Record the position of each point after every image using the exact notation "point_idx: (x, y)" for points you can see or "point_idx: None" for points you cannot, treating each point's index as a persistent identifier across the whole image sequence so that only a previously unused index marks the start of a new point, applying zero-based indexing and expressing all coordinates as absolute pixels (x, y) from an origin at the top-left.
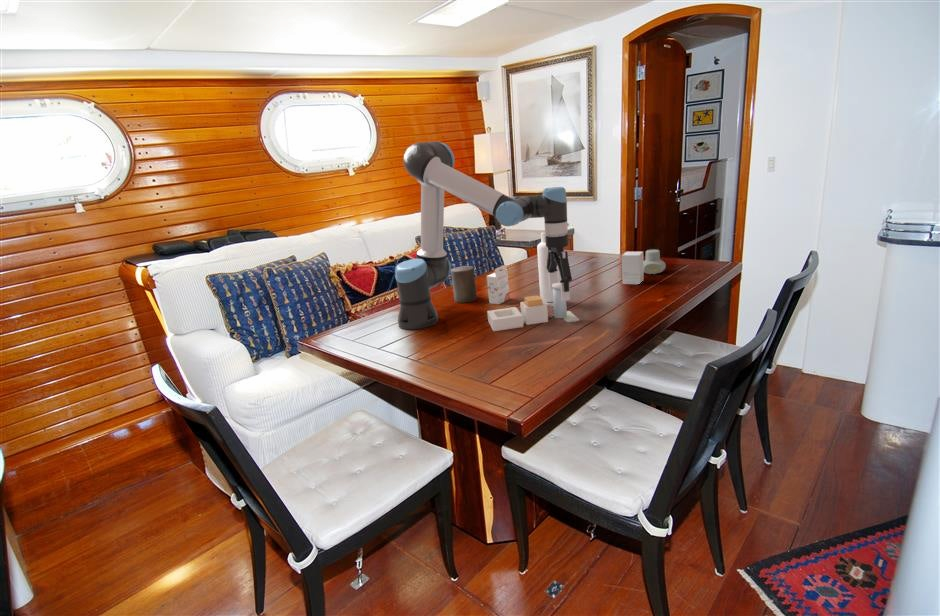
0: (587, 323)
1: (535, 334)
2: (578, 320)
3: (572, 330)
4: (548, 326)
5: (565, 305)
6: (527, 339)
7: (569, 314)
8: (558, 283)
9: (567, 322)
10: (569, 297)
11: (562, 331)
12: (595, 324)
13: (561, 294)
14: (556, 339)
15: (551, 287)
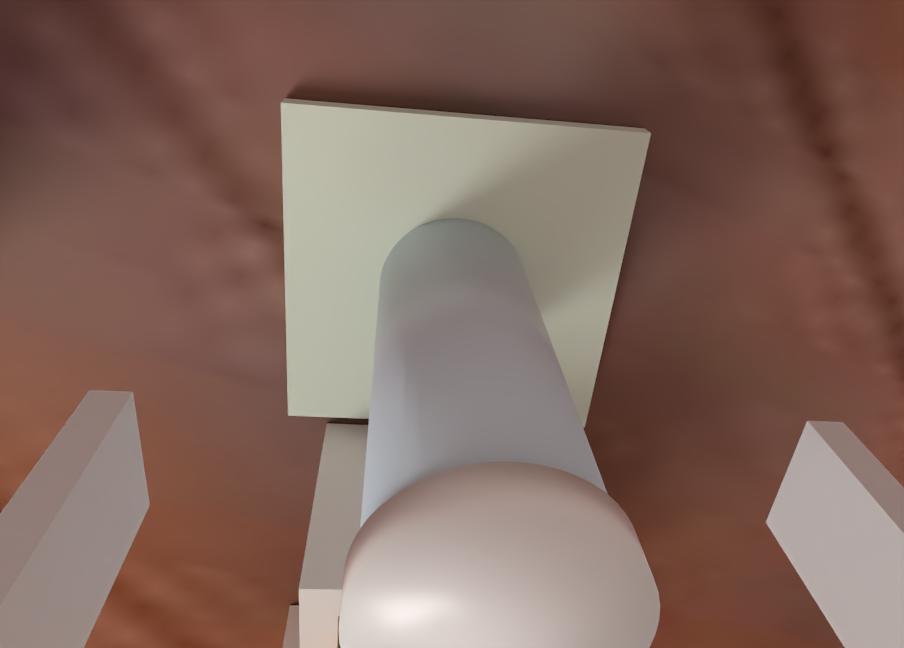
0: (773, 76)
1: (696, 568)
2: (644, 139)
3: (832, 304)
4: (594, 445)
5: (541, 320)
6: (746, 628)
7: (420, 163)
8: (420, 621)
9: (615, 267)
10: (866, 461)
11: (787, 387)
12: (868, 2)
13: (822, 606)
14: (900, 479)
15: (125, 532)
